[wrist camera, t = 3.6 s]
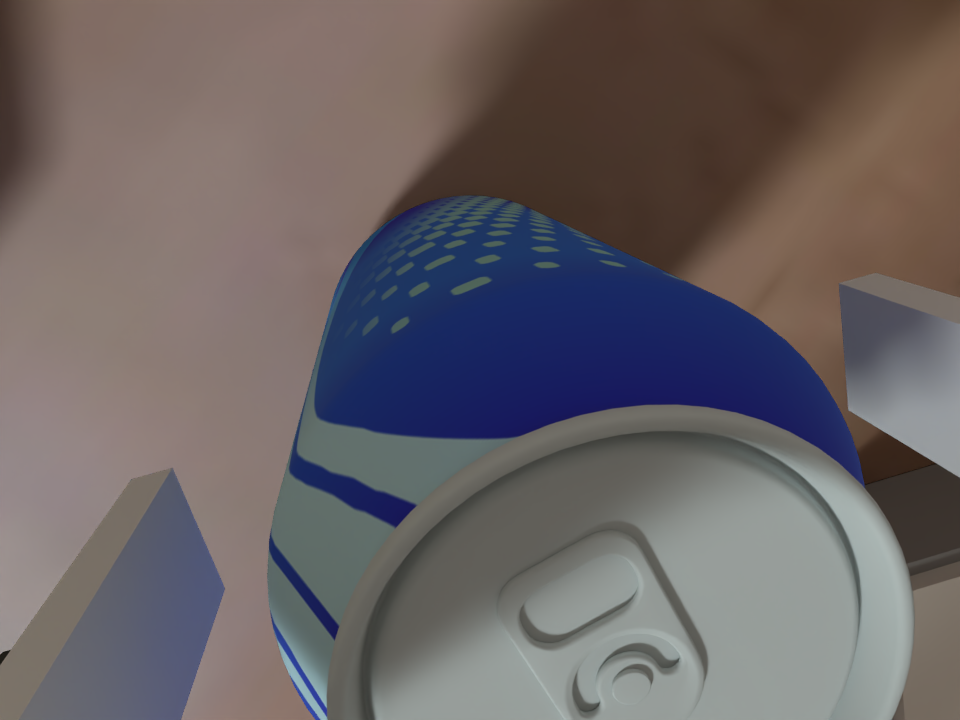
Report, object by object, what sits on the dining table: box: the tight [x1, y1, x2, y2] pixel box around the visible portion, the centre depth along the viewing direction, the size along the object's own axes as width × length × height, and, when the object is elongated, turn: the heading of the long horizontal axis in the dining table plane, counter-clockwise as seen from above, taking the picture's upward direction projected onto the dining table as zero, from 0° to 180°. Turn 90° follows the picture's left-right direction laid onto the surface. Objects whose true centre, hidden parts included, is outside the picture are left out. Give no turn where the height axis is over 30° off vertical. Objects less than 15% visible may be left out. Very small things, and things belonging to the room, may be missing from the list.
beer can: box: [267, 195, 915, 720], centre depth 15 cm, size 8×8×16 cm
